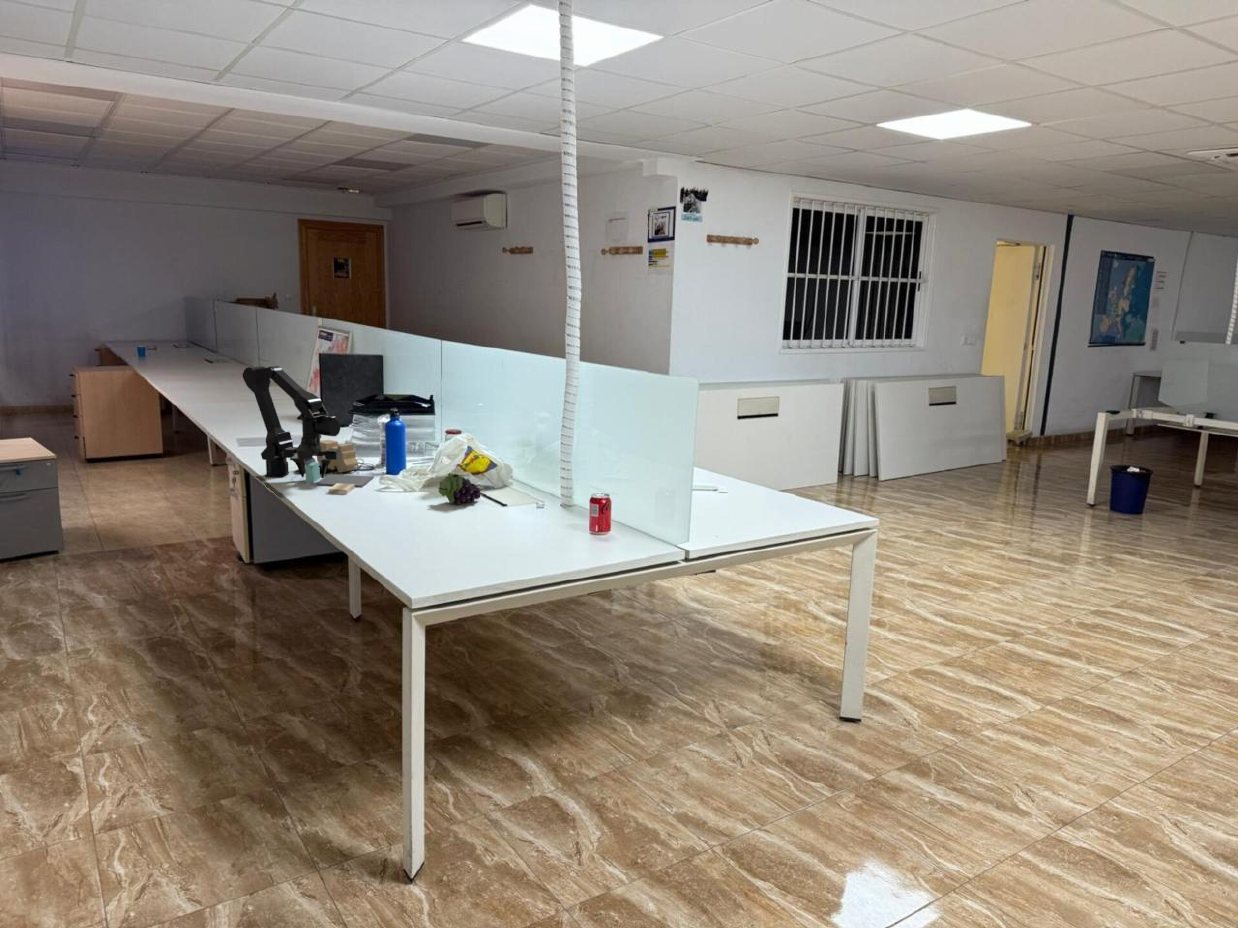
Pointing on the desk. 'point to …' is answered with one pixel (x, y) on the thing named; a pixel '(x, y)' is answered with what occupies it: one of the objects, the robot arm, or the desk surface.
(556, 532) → the desk surface
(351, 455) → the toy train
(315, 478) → the teal slab
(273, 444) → the robot arm
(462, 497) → the fruit
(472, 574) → the desk surface
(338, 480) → the mat
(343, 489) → the birch slab
